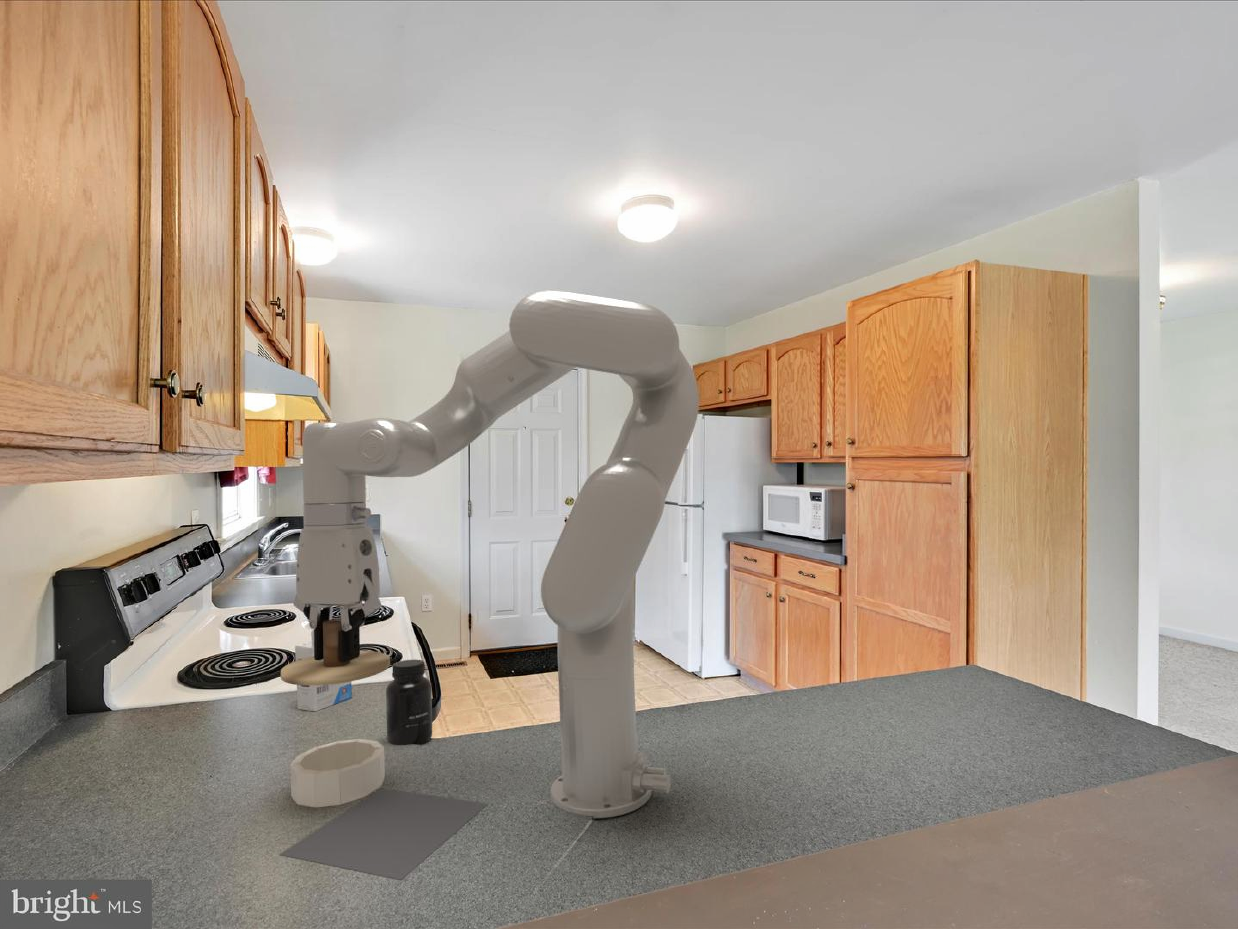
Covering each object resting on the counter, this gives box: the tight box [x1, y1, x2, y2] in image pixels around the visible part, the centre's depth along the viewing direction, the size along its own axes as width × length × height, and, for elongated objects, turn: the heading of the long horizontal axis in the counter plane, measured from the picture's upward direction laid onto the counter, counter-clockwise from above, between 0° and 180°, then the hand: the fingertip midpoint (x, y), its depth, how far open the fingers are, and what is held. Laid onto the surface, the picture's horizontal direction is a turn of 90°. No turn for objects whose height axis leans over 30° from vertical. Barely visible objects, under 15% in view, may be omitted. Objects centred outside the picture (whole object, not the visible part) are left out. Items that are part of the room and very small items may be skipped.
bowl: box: [289, 738, 386, 808], centre depth 88 cm, size 11×11×4 cm
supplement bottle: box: [385, 659, 433, 746], centre depth 104 cm, size 7×7×12 cm
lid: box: [280, 618, 391, 686], centre depth 86 cm, size 13×13×6 cm
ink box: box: [294, 629, 353, 712], centre depth 124 cm, size 8×5×15 cm, turn 152°
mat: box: [278, 787, 489, 881], centre depth 76 cm, size 16×16×1 cm
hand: (337, 657), depth 86 cm, fingers closed on lid, 3 cm apart
